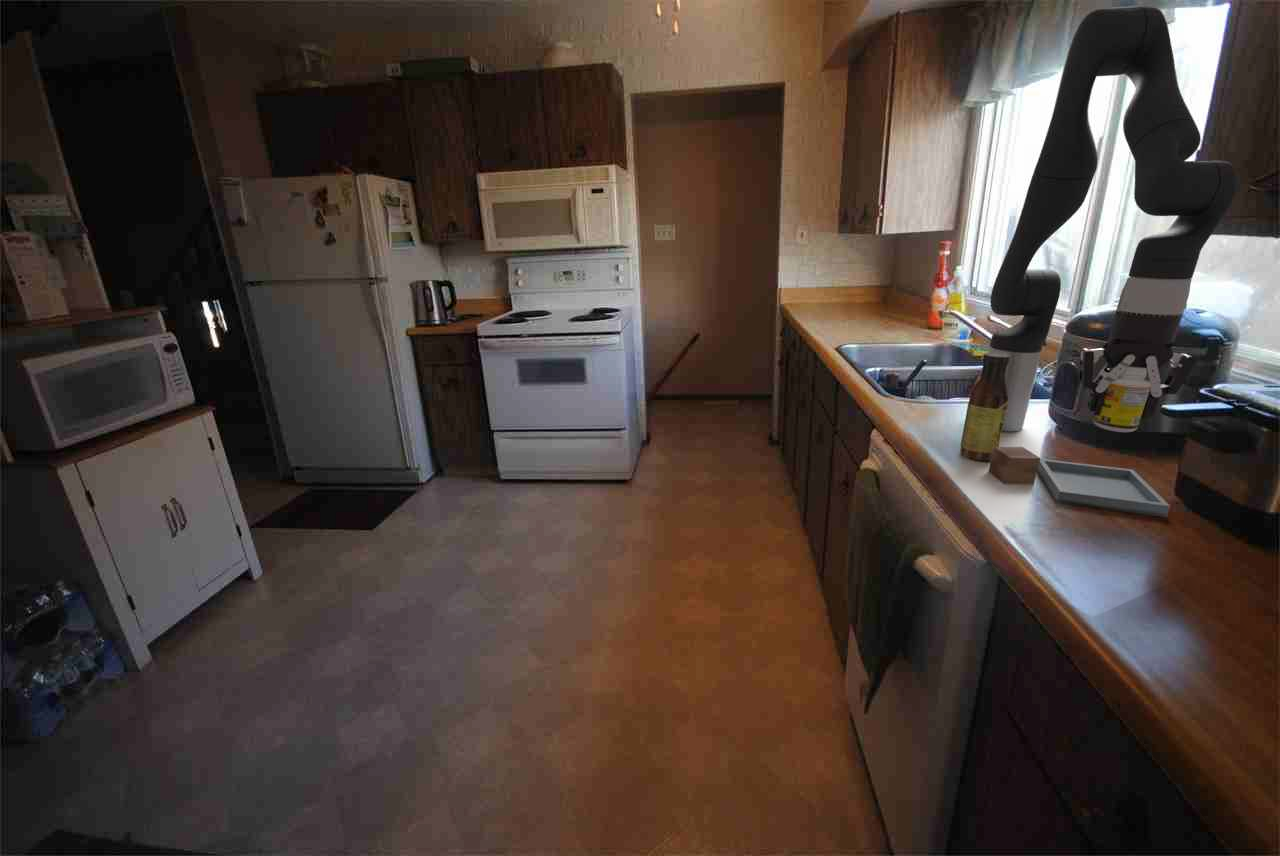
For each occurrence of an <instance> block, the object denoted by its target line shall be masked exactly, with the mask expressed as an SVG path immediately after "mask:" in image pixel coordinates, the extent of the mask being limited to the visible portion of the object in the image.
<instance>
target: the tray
mask: <svg viewBox="0 0 1280 856" xmlns="http://www.w3.org/2000/svg"><path fill="white" fill-rule="evenodd" d="M1037 474H1038V476H1039V477H1040V478H1041V480H1042V481H1043V483H1044V485H1045V486H1046V488H1047V490H1048V491H1049V493H1050V494H1051V496H1052V498H1054V500H1055V503H1056V504H1057V503H1058V504H1065V505H1071V506H1080V507H1086V508H1095V509H1099V510H1109V511H1116V512H1123V513H1129V514H1137V515H1144V516H1151V517H1158V518H1164V519H1165V518H1166V519H1167V516H1168V514H1169V511H1170V508H1171V505H1170V504H1169V503H1168V502H1167V501H1166V500H1165V499H1164V498H1163V497H1162V496H1161V495H1160V494H1159V493H1158V492H1157V491H1156V490H1155V489H1154V488H1153V487H1152V486H1151V485H1149V484H1148V483H1147V481H1145V480H1144V478H1142V477H1141V476H1140V475H1139V474H1138V473H1137V472H1136V471H1135V470H1134V469H1131V468H1122V467H1112V466H1104V465H1096V464H1095V465H1094V464H1088V463H1079V462H1072V461H1071V462H1070V461H1063V460H1062V461H1061V460H1053V459H1046V458H1045V459H1044V458H1041V459H1040V463H1039V466H1038V470H1037Z"/></svg>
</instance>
